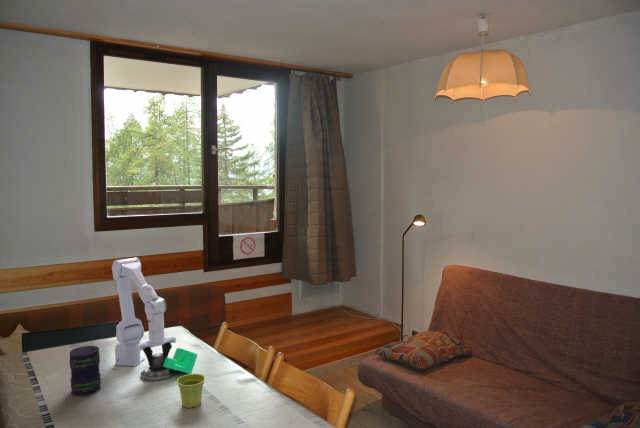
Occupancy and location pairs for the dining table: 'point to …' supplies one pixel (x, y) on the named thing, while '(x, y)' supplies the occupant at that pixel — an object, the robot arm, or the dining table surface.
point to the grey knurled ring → (156, 374)
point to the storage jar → (85, 370)
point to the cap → (157, 361)
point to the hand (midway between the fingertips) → (157, 363)
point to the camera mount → (181, 361)
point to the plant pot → (191, 389)
